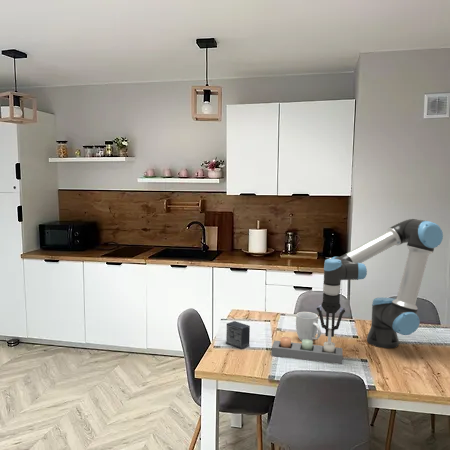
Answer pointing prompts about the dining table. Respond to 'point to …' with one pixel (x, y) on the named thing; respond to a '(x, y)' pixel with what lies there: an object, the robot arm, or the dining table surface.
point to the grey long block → (307, 353)
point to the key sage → (307, 344)
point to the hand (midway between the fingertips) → (329, 343)
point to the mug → (307, 325)
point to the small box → (238, 334)
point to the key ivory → (329, 347)
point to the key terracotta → (285, 342)
